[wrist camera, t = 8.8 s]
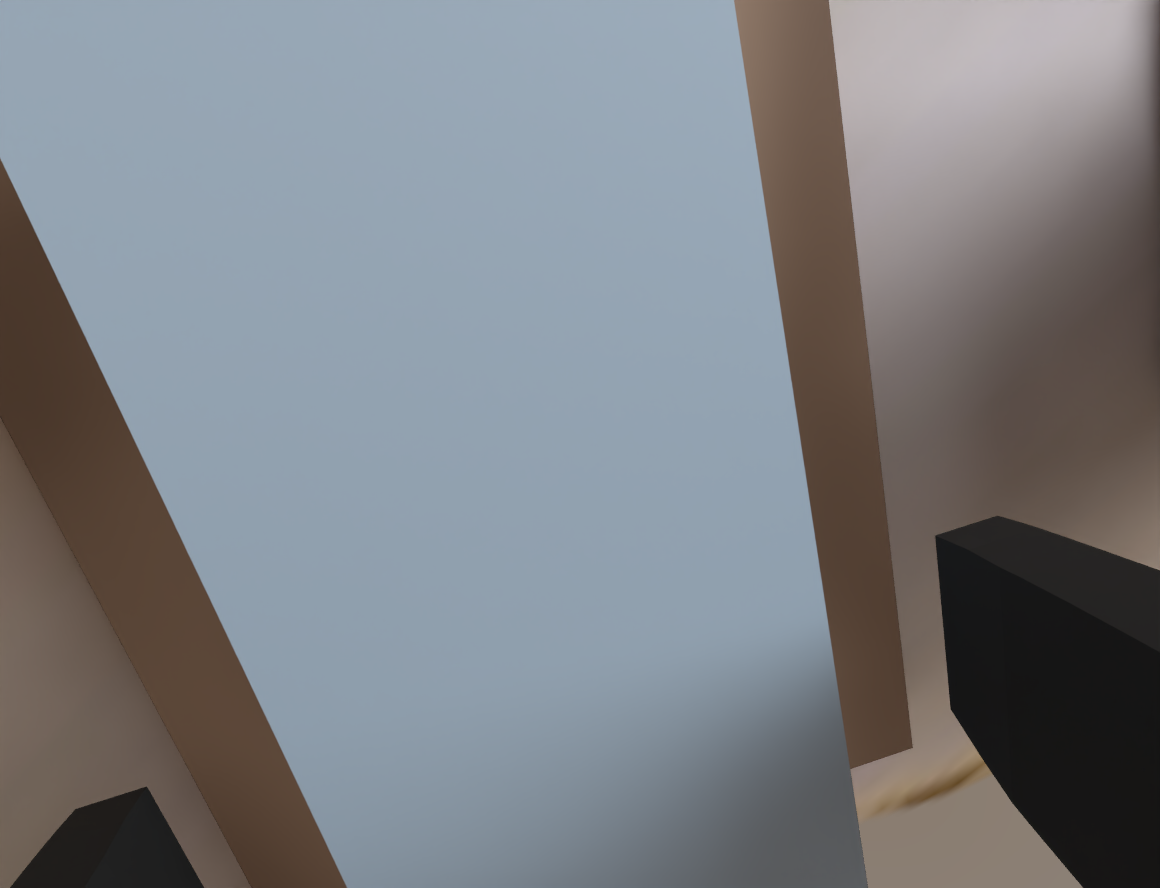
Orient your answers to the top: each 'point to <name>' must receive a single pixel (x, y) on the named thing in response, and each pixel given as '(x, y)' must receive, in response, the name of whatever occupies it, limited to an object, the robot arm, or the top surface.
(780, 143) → the peg stand
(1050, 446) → the top surface
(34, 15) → the pale blue rectangular block
